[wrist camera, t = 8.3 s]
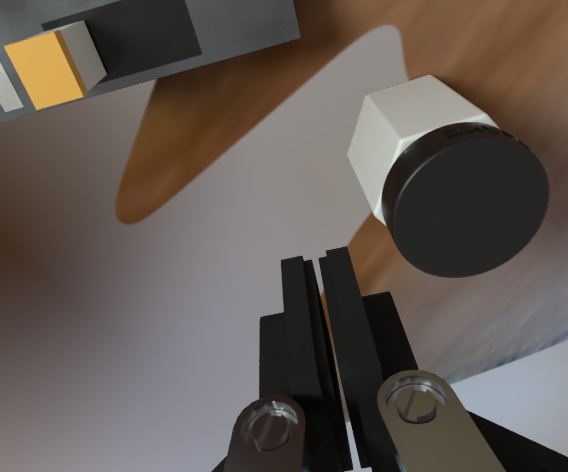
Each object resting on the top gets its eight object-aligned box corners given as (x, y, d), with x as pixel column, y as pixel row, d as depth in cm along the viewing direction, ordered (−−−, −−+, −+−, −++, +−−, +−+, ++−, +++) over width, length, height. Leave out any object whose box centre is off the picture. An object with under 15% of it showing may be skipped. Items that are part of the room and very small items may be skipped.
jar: (490, 135, 36) (586, 211, 26) (404, 210, 39) (460, 307, 28) (411, 47, 32) (486, 94, 22) (323, 136, 35) (353, 216, 25)
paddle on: (83, 18, 27) (53, 31, 23) (108, 75, 29) (83, 96, 24) (41, 31, 27) (3, 46, 23) (67, 86, 29) (36, 110, 25)
